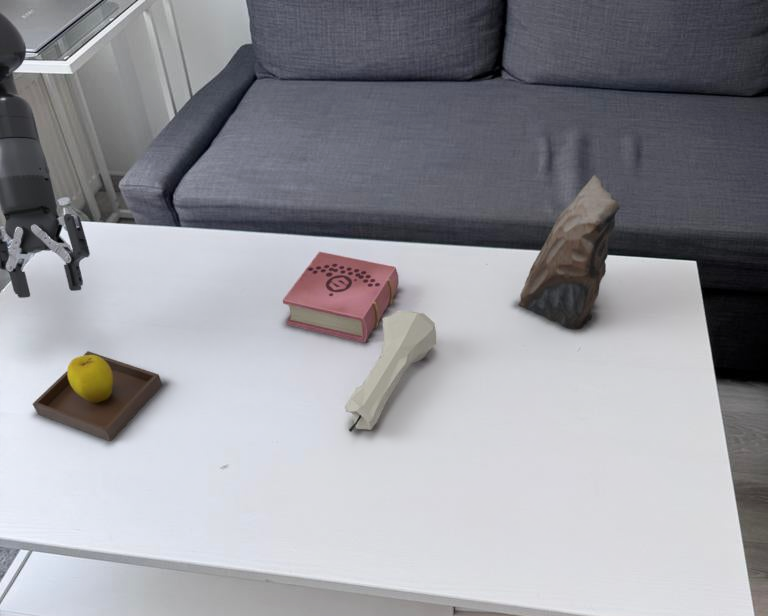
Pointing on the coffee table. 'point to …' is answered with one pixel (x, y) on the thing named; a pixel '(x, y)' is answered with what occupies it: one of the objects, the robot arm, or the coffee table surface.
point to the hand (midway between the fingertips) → (50, 293)
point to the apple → (91, 378)
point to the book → (341, 296)
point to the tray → (104, 416)
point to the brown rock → (573, 259)
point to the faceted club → (391, 364)
